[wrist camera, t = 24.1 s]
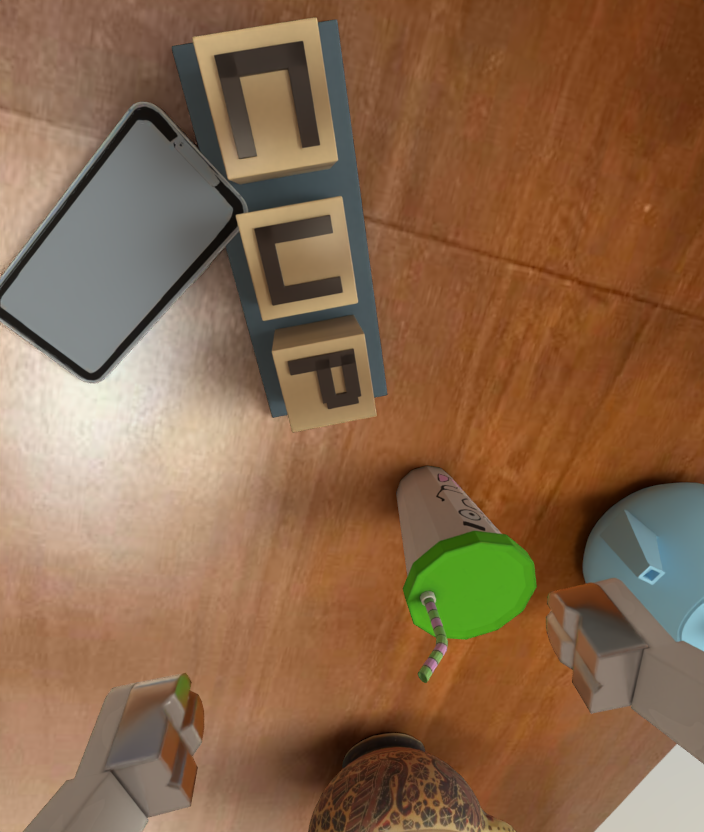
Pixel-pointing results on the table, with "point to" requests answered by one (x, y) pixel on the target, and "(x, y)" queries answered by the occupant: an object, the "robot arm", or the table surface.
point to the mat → (290, 192)
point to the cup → (457, 563)
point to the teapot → (656, 554)
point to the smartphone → (120, 246)
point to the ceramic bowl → (399, 793)
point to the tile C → (268, 100)
